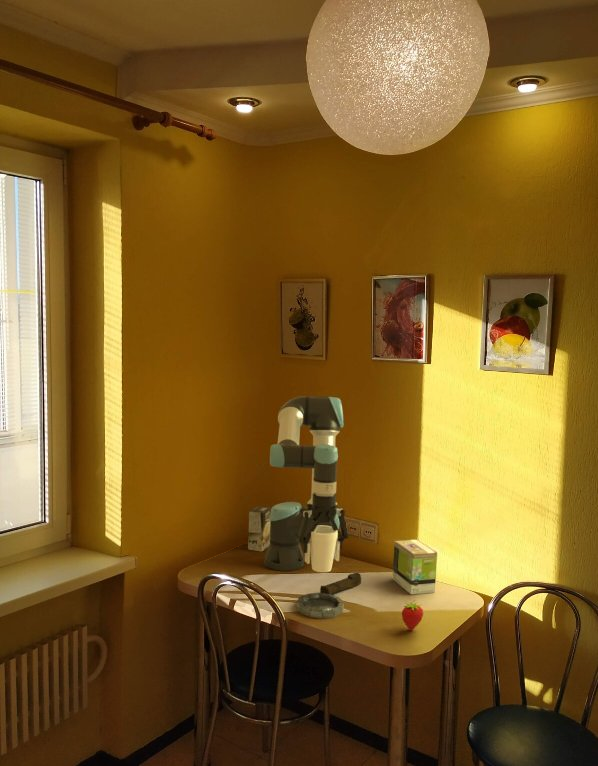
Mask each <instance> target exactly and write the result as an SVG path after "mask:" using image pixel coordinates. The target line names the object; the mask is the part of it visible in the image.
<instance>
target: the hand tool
mask: <svg viewBox="0 0 598 766" xmlns="http://www.w3.org/2000/svg"><path fill="white" fill-rule="evenodd" d="M361 583H362V575H361V573H360V572H354V573H350V574H348V575H347V577H346V578H344V579H340V580H337V581H335V582H332V583H329V584H325V585H320V588H319V591H320V592H319V593H325V594H331V595H333V594H336V593H338V592H342V591H345V590H347V589H354V588H356V587H358V586H360V584H361Z"/></svg>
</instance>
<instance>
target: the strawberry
mask: <svg viewBox="0 0 598 766" xmlns="http://www.w3.org/2000/svg"><path fill="white" fill-rule="evenodd" d="M414 601H416V600H413V601H412V602H410V603H408V602H407V603H406V602H405V604H406V605H404V606H403V607H404V608H403V609H402V611H401V617H402V621H403V623H404V625H405V626H406V627H407V629H408V630H409V631H410V632H411V631H413V630H414V629H415V628H416V627H417V626H419V624H420V623H421V621H422V619H423V617H424V610H423V608H422V607H421V604H417V602H414ZM413 602H414V603H413Z"/></svg>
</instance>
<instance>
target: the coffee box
mask: <svg viewBox="0 0 598 766" xmlns="http://www.w3.org/2000/svg"><path fill="white" fill-rule="evenodd" d="M271 509H272V506H271V507H270V506H263V505H257V506H255V507H254V508H251V509H250V510H249V512H248V536H247V537H248V543H247V544H248V545H247V550H250V551H257V552H263V551H264V550H266V549H268V547H269V544H270V515H271Z"/></svg>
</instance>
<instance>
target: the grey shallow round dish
mask: <svg viewBox="0 0 598 766" xmlns="http://www.w3.org/2000/svg"><path fill="white" fill-rule="evenodd" d="M296 609H297V611H298V612H299V614H302V615H304V616H305V617H306V616H307V617H309V618H314V619H322V620H323V619H331V618H335V617H337V616H339V615H341V614H343V612H344V610H345V602H344V600H342V598H340V597H338V596H336V595H333V594H325V593H320V592H314V593H313V592H312V593H306V594H304V595H300V596H299V597H298V599H297V600H296Z"/></svg>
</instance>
